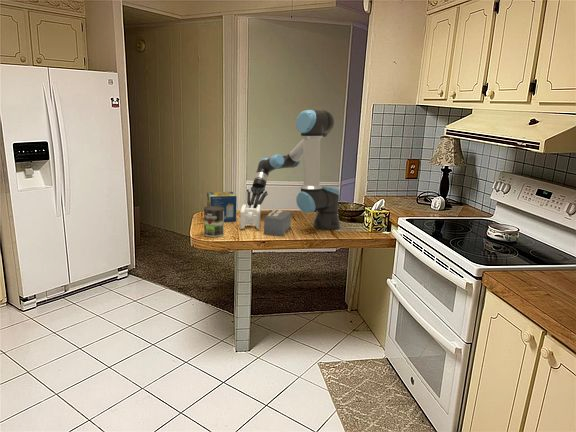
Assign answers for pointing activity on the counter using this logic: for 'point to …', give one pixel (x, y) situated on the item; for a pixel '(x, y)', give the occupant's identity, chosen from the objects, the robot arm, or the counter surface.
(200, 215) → the counter surface
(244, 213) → the cable organizer
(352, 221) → the counter surface
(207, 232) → the coffee can
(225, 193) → the protein box
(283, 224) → the grey box
